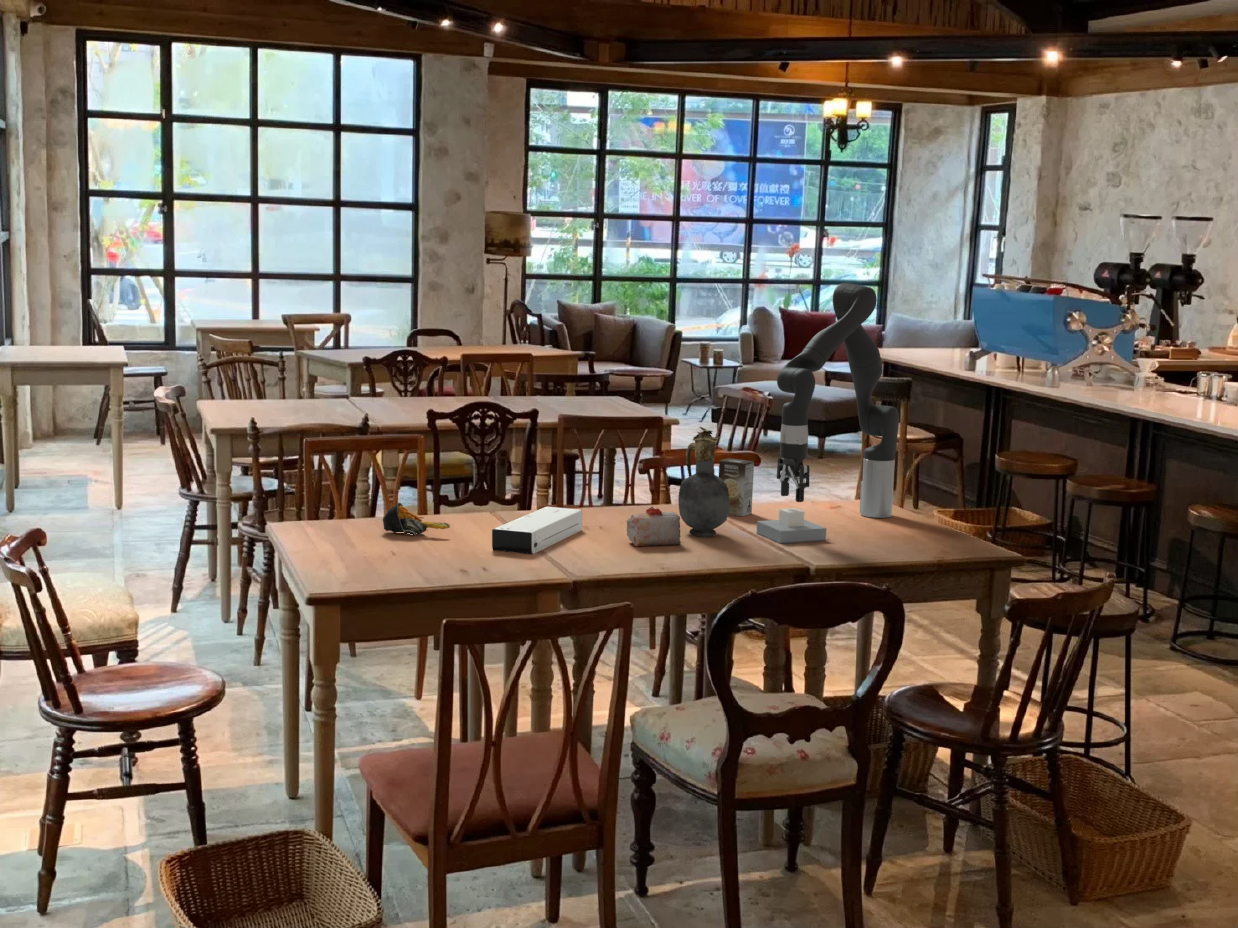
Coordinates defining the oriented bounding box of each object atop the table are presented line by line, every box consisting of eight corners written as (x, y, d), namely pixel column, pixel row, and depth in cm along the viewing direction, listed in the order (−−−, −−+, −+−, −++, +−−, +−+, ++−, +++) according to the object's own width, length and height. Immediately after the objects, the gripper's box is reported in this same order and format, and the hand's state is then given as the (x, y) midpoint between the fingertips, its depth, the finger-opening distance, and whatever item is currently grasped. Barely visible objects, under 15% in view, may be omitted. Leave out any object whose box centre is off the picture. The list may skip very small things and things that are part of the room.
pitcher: (697, 541, 359) (700, 431, 354) (668, 527, 376) (670, 422, 372) (733, 538, 363) (736, 430, 358) (702, 525, 380) (706, 421, 376)
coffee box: (715, 513, 399) (717, 460, 396) (725, 509, 404) (727, 457, 401) (743, 516, 394) (745, 463, 391) (753, 513, 399) (754, 460, 397)
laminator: (545, 527, 375) (545, 506, 374) (585, 531, 371) (586, 509, 370) (491, 552, 343) (492, 528, 342) (535, 556, 339) (535, 533, 338)
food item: (632, 548, 350) (633, 511, 348) (624, 541, 357) (625, 505, 356) (682, 546, 353) (683, 509, 352) (673, 539, 361) (674, 504, 359)
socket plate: (756, 533, 371) (757, 519, 370) (800, 530, 376) (801, 516, 375) (780, 543, 358) (780, 529, 357) (825, 540, 363) (826, 526, 362)
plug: (778, 533, 368) (779, 509, 367) (794, 532, 370) (795, 508, 369) (787, 537, 363) (788, 512, 362) (803, 536, 365) (804, 511, 364)
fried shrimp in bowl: (386, 511, 368) (447, 493, 366) (394, 549, 365) (456, 531, 363) (374, 505, 359) (437, 486, 357) (383, 544, 356) (446, 524, 354)
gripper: (769, 437, 368) (767, 494, 370) (794, 445, 355) (792, 504, 357) (793, 436, 370) (791, 493, 373) (819, 443, 357) (817, 503, 360)
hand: (792, 498), depth 365 cm, fingers open, 8 cm apart
